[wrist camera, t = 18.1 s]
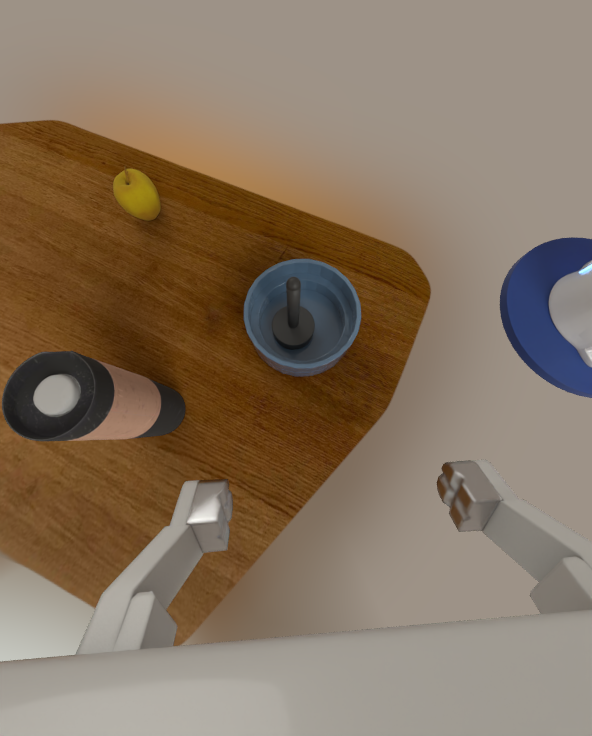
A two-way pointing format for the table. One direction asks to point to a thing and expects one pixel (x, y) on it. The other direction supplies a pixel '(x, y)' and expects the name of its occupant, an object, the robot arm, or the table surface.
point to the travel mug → (86, 401)
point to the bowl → (320, 297)
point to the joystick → (293, 320)
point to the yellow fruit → (137, 194)
